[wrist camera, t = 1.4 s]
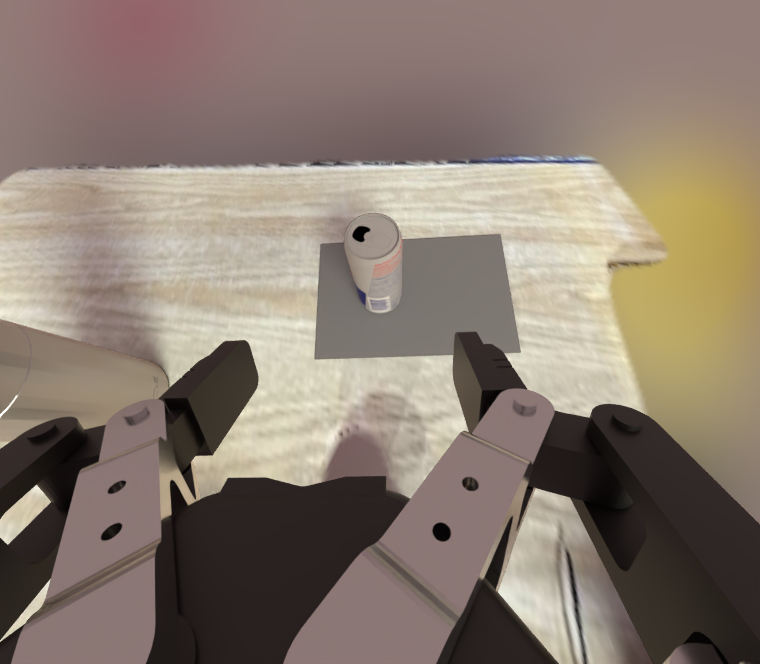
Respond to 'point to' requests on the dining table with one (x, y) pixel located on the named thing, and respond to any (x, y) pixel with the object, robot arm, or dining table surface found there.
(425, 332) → the mat
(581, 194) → the dining table surface
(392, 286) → the energy drink
